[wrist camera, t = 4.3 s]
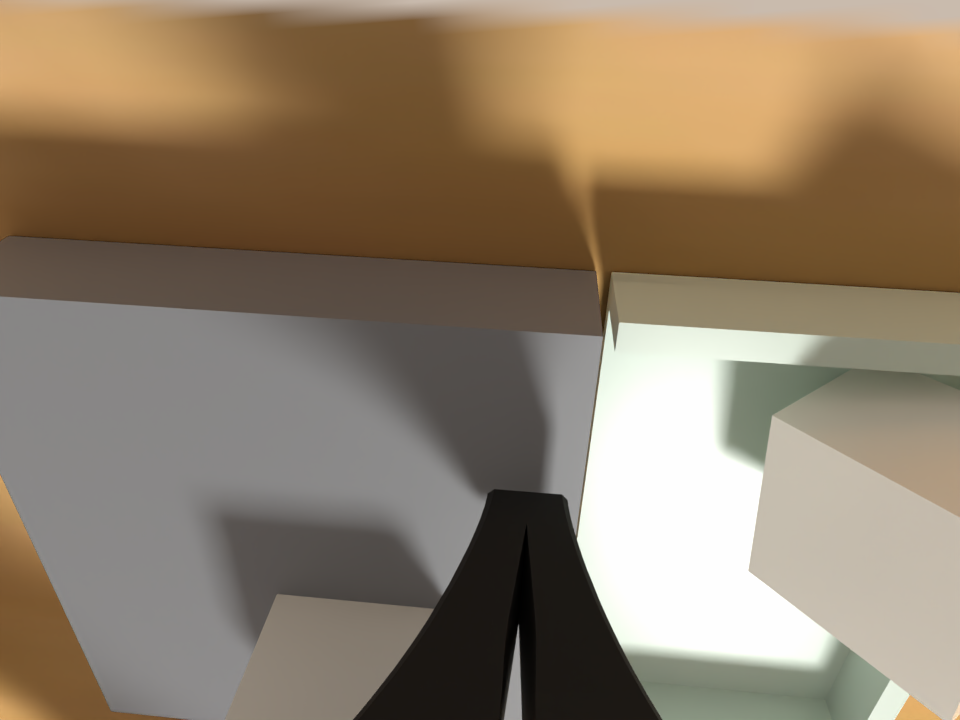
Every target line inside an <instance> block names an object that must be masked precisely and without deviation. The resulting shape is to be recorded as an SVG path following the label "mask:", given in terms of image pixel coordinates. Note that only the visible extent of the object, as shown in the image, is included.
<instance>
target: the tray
mask: <svg viewBox="0 0 960 720" xmlns="http://www.w3.org/2000/svg"><path fill="white" fill-rule="evenodd" d="M851 369H866V370H880V371H895V372H910V373H919V374H922V375H924V376H927V377H929V378H932V379H934V380H936V381H939V382H941V383H944V384H946V385H948V386H951V387H953V388H956V389H958V390H960V293H955V292H938V291H922V290H905V289H889V288H872V287H855V286H839V285H822V284H805V283H789V282H772V281H755V280H739V279H722V278H706V277H689V276H672V275H656V274H639V273H622V272H612V273H611V280H610V288H609V295H608V302H607V310H606V317H605V324H604V332H603V341H602V348H601V355H600V363H599V370H598V377H597V385H596V392H595V399H594V407H593V414H592V421H591V429H590V436H589V443H588V450H587V458H586V465H585V472H584V480H583V487H582V494H581V502H580V509H579V516H578V524H577V531H576V539H577V542H578V545H579V548H580V551H581V554H582V557H583V560H584V562H585V565H586V568H587V571H588V573H589V575H590V578H591V580H592V583H593V585H594V588H595V590H596V593H597V595H598V598H599V600H600V602H601V605H602V607H603V609H604V611H605V614H606V616H607V618H608V620H609V622H610V624H611V627H612V629H613V631H614V633H615V635H616V637H617V639H618V641H619V643H620V645H621V647H622V649H623V651H624V653H625V655H626V657H627V659H628V661H629V663H630V664H631V666H632V668H633V670H634V672H635V674H636V675H637V677H638V679H639V681H640V683H641V684H642V686H643V688H644V690H645V691H646V693H647V695H648V697H649V698H650V700H651V702H652V703H653V705H654V706H655V708H656V710H657V711H658V713H659V715H660V716H661V718H662V720H895V718H896V716H897V715H898V713H899V711H900V710H901V708H902V707H903V705H904V703H905V702H906V700H907V698H908V697H909V695H910V694H908V693H907V692H906V691H904V690H903V689H902V688H901V687H899V686H898V685H897V684H895V683H894V682H893V681H891V680H890V679H889V678H887V677H886V676H885V675H884V674H882V673H881V672H880V671H878V670H877V669H876V668H874V667H873V666H872V665H870V664H869V663H868V662H867V661H865V660H864V659H863V658H861V657H860V656H859V655H857V654H856V653H855V652H853V651H852V650H851V649H850V648H848V647H847V646H846V645H844V644H843V643H842V642H840V641H839V640H838V639H836V638H835V637H834V636H832V635H831V634H830V633H829V632H827V631H826V630H825V629H823V628H822V627H821V626H819V625H818V624H817V623H815V622H814V621H813V620H812V619H810V618H809V617H808V616H806V615H805V614H804V613H802V612H801V611H800V610H798V609H797V608H796V607H795V606H793V605H792V604H791V603H789V602H788V601H787V600H785V599H784V598H783V597H781V596H780V595H779V594H778V593H776V592H775V591H774V590H772V589H771V588H770V587H768V586H767V585H766V584H764V583H763V582H762V581H760V580H759V579H758V578H757V577H755V576H754V575H753V574H751V573H750V572H749V571H748V568H749V561H750V555H751V548H752V542H753V535H754V529H755V523H756V516H757V510H758V503H759V497H760V490H761V484H762V478H763V471H764V465H765V458H766V452H767V445H768V439H769V433H770V426H771V420H772V415H774V414H775V413H777V412H779V411H781V410H782V409H784V408H786V407H787V406H789V405H791V404H793V403H794V402H796V401H798V400H799V399H801V398H803V397H805V396H806V395H808V394H810V393H811V392H813V391H815V390H817V389H818V388H820V387H822V386H823V385H825V384H827V383H829V382H830V381H832V380H834V379H835V378H837V377H839V376H840V375H842V374H844V373H846V372H847V371H849V370H851Z"/></svg>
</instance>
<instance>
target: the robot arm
mask: <svg viewBox="0 0 960 720" xmlns="http://www.w3.org/2000/svg"><path fill="white" fill-rule="evenodd" d="M518 625H519V649H520V678H521V706H522V720H662V718H661V716H660V715H659V713H658V711H657V710H656V708H655V706H654V705H653V703H652V702H651V700H650V698H649V697H648V695H647V693H646V691H645V690H644V688H643V686H642V684H641V683H640V681H639V679H638V677H637V675H636V674H635V672H634V670H633V668H632V666H631V664H630V663H629V661H628V659H627V657H626V655H625V653H624V651H623V649H622V647H621V645H620V643H619V641H618V639H617V637H616V635H615V633H614V631H613V629H612V627H611V624H610V622H609V620H608V618H607V616H606V614H605V611H604V609H603V607H602V605H601V602H600V600H599V598H598V595H597V593H596V590H595V588H594V585H593V583H592V580H591V578H590V575H589V573H588V571H587V568H586V565H585V562H584V560H583V557H582V554H581V551H580V548H579V545H578V542H577V539H576V535H575V532H574V528H573V524H572V521H571V516H570V512H569V506H568V500H567V499H566V498H565V497H564V496H563V495H562V494H550V493H538V492H525V491H513V490H500V489H494V490H492V491H490V492H489V493H488V494H487V499H486V503H485V506H484V509H483V512H482V515H481V518H480V520H479V523H478V526H477V528H476V530H475V533H474V535H473V537H472V539H471V542H470V544H469V546H468V548H467V550H466V552H465V554H464V556H463V558H462V560H461V562H460V564H459V566H458V568H457V570H456V572H455V574H454V576H453V578H452V579H451V581H450V583H449V585H448V587H447V588H446V590H445V592H444V593H443V595H442V597H441V598H440V600H439V602H438V603H437V605H436V607H435V608H434V610H433V612H432V613H431V615H430V617H429V618H428V620H427V621H426V623H425V625H424V626H423V628H422V629H421V631H420V632H419V634H418V635H417V637H416V638H415V640H414V641H413V643H412V644H411V645H410V647H409V648H408V650H407V651H406V652H405V654H404V655H403V657H402V658H401V659H400V661H399V662H398V664H397V665H396V666H395V668H394V669H393V670H392V672H391V673H390V674H389V675H388V677H387V678H386V679H385V681H384V682H383V683H382V684H381V686H380V687H379V688H378V690H377V691H376V692H375V693H374V695H373V696H372V697H371V699H370V700H369V701H368V702H367V703H366V705H365V706H364V707H363V708H362V709H361V711H360V712H359V713H358V714H357V715H356V717H355V718H354V719H353V720H504V717H505V710H506V704H507V697H508V691H509V684H510V677H511V671H512V664H513V658H514V651H515V645H516V638H517V632H518Z"/></svg>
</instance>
